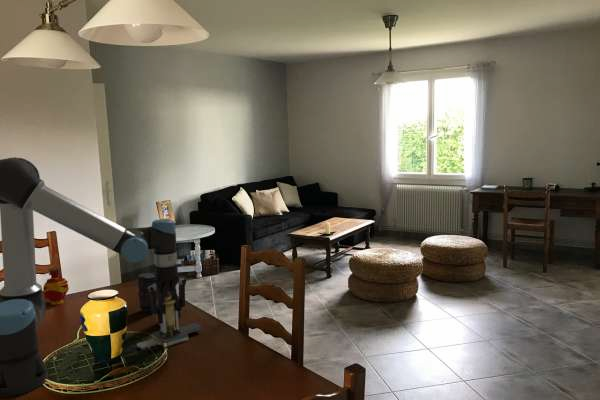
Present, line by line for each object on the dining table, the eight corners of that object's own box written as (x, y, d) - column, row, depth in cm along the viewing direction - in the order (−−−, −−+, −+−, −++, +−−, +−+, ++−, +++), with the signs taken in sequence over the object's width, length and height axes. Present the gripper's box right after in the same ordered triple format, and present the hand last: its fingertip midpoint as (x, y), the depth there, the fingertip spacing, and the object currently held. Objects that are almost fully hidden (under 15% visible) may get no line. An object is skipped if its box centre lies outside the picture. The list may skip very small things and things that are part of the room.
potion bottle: (38, 307, 198) (35, 272, 196) (52, 298, 208) (49, 266, 206) (62, 306, 198) (59, 272, 196) (75, 298, 208) (72, 265, 206)
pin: (166, 339, 159) (164, 303, 157) (159, 335, 163) (157, 299, 161) (180, 335, 162) (178, 299, 161) (173, 331, 166) (171, 296, 165)
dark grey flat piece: (144, 353, 152) (144, 346, 152) (134, 344, 159) (134, 338, 159) (204, 334, 167) (204, 328, 166) (193, 327, 173) (192, 320, 173)
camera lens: (149, 315, 186) (147, 279, 184) (135, 312, 190) (133, 276, 188) (164, 309, 193) (162, 273, 191) (151, 305, 197) (148, 271, 195)
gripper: (146, 271, 151) (150, 340, 154) (193, 262, 162) (197, 326, 165) (137, 267, 157) (141, 333, 160) (183, 258, 168) (187, 320, 171)
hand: (169, 329), depth 162 cm, fingers closed on pin, 4 cm apart
